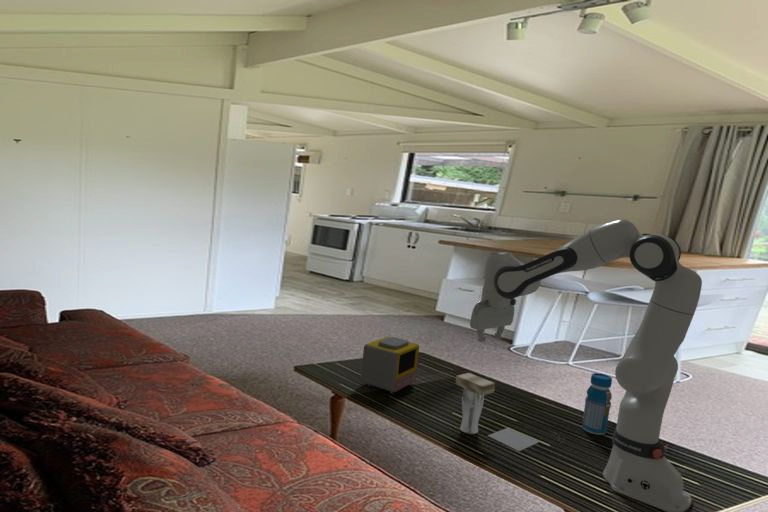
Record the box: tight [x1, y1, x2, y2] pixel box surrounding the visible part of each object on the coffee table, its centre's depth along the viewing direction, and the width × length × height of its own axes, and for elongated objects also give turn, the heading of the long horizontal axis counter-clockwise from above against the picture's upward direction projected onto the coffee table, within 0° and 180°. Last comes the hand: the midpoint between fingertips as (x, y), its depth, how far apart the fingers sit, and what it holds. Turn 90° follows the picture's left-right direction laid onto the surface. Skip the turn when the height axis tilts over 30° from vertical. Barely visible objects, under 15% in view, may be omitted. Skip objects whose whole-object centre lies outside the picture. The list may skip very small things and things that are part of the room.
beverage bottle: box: [581, 372, 613, 436], centre depth 181 cm, size 8×8×20 cm
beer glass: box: [459, 388, 485, 435], centre depth 170 cm, size 7×7×15 cm
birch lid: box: [454, 372, 496, 396], centre depth 169 cm, size 11×7×3 cm, turn 42°
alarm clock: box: [360, 336, 420, 395], centre depth 204 cm, size 20×16×18 cm
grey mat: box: [487, 427, 540, 452], centre depth 167 cm, size 12×12×1 cm
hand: (489, 340), depth 173 cm, fingers open, 8 cm apart
